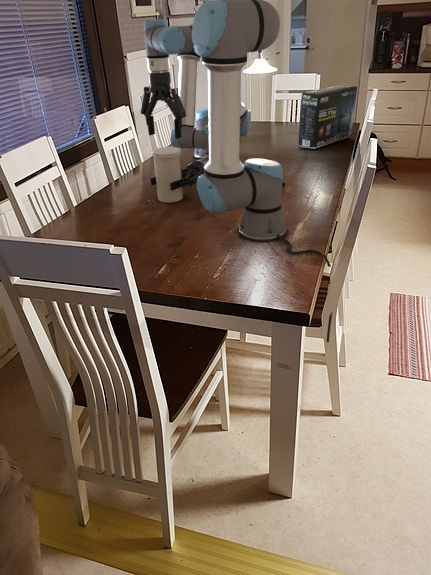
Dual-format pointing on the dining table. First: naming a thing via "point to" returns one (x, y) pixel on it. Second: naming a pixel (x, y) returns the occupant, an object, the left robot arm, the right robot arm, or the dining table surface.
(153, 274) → the dining table surface
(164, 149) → the lid
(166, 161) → the jar
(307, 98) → the router box
